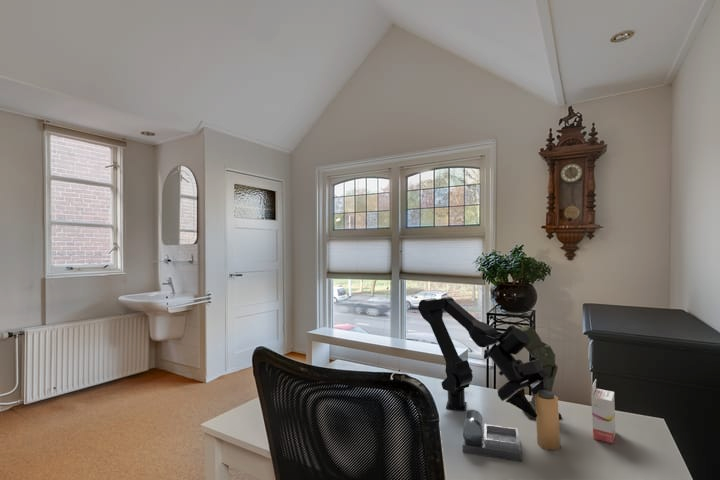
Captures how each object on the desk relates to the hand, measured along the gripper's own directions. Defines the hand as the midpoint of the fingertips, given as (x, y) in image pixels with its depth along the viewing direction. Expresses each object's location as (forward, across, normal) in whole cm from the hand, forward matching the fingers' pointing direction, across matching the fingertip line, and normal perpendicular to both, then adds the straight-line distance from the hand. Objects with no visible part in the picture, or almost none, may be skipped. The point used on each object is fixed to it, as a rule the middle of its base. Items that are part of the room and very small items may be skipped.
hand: (544, 412), depth 98 cm
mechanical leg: (-1, +16, +13) cm, 21 cm away
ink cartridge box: (+12, +17, +1) cm, 21 cm away
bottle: (+6, 0, +6) cm, 9 cm away
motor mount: (0, -13, +12) cm, 18 cm away
